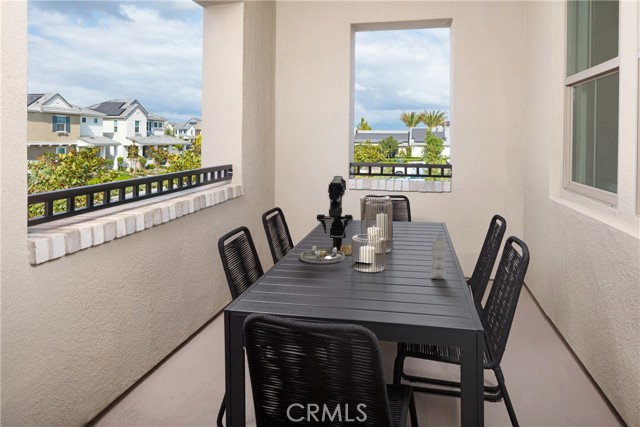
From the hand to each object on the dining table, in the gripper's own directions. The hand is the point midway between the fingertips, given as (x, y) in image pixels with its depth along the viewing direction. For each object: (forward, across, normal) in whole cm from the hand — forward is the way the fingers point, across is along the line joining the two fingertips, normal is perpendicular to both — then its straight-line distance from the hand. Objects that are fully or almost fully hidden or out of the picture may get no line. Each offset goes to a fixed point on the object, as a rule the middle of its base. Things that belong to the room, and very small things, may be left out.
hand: (334, 234), depth 251 cm
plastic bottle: (+24, +50, -25) cm, 61 cm away
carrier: (+12, -6, +4) cm, 14 cm away
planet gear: (+8, +5, +16) cm, 19 cm away
